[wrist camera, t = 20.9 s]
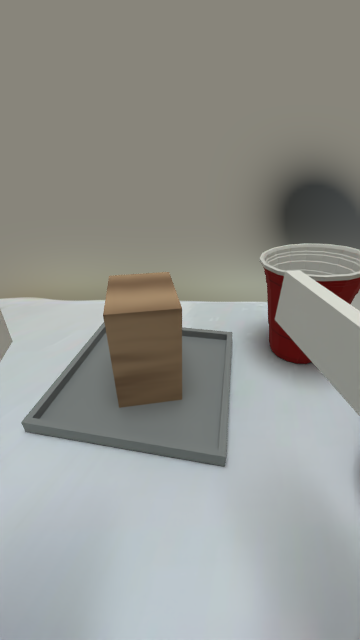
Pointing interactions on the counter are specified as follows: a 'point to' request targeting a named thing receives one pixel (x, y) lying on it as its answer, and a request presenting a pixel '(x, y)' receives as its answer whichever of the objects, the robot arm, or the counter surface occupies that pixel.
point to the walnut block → (144, 338)
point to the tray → (149, 419)
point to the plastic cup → (319, 264)
